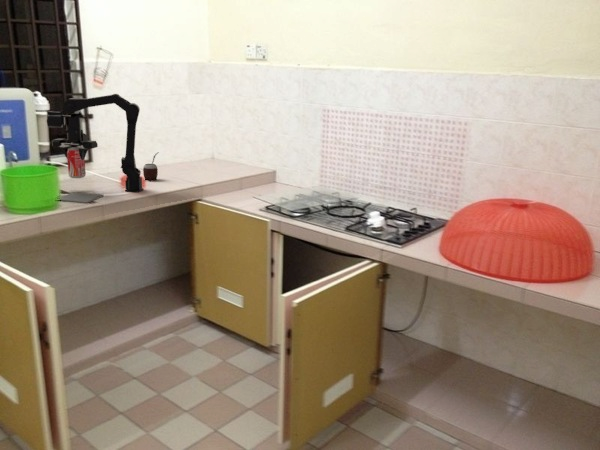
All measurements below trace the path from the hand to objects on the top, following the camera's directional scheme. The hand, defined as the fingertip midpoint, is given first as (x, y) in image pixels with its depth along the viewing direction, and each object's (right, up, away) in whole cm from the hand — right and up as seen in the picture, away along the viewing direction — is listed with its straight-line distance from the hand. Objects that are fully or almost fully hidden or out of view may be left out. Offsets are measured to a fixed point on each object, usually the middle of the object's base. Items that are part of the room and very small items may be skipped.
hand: (76, 162), depth 245 cm
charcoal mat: (+5, -16, -9) cm, 19 cm away
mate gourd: (+25, -5, +33) cm, 41 cm away
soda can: (0, -6, +2) cm, 7 cm away
